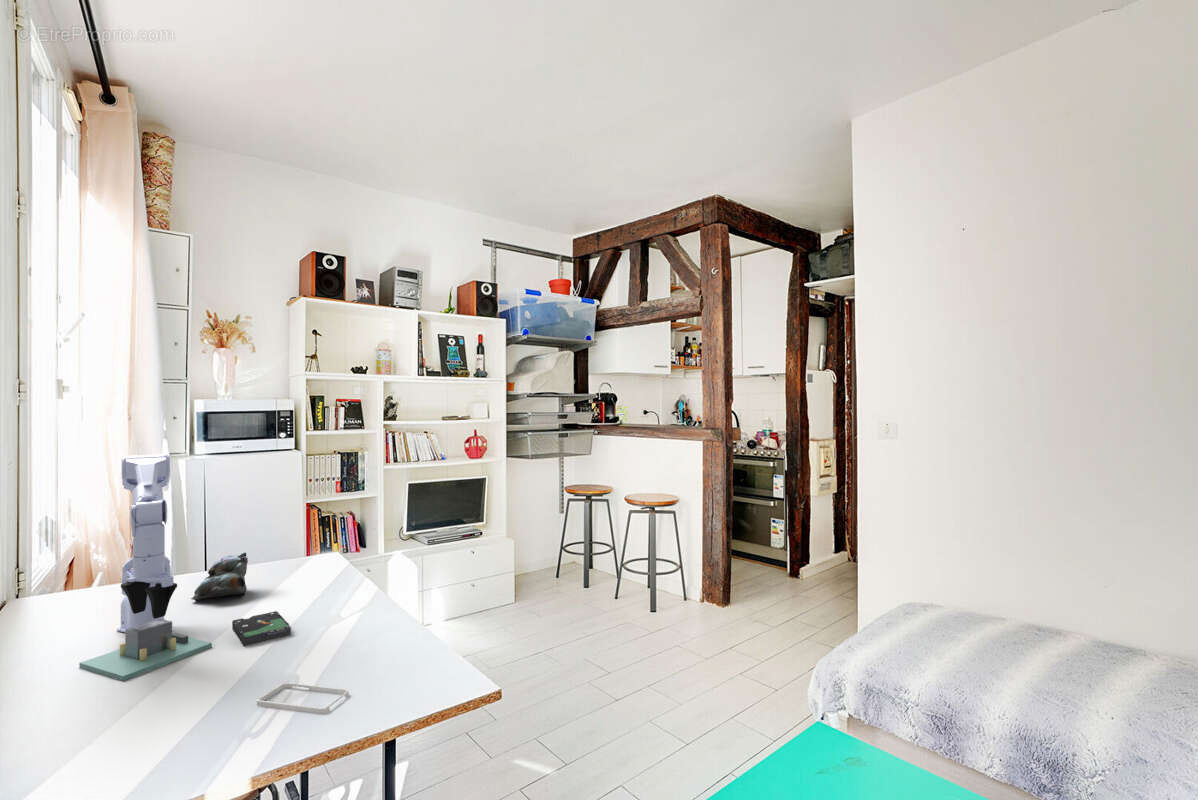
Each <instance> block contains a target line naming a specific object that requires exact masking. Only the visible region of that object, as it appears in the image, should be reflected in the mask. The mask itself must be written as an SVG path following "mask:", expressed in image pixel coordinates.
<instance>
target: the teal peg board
mask: <svg viewBox="0 0 1198 800" xmlns="http://www.w3.org/2000/svg"><path fill="white" fill-rule="evenodd" d="M212 647H213V643H212V642H210V641H205V640H201V639H197V638H194V637H189V635H186V634H182V633H178V632H172V638H171V639H169V649H167V650H164V651H161V652H159V653H156V654H153V655H150V656H148V657H147V648H142V649H140V659H139V660H136V659H132V658H128V657H125V642H122V643H119V649H117V650H114V651H110V652H107V653H105V654H102V655H99V656H96V657H93V658H90V659H87V660H84V661H82V662H79V664H78V665H79V668H80V669H83V670H85V671H86V670H87V671H88V672H89V671H90V672H93V673H96V674H99V675H103V676H104V677H105V676H106V677H109V678H112V679H115V680H119V681H122V682H124V681H127V680H129V679H133V678H135V677H137V676H141V675H143V674H146V673H147V672H150V671H153V670H156V669H158V668H161V667H163V666H166V665H168V664H171V663H174V662H176V661H178V660H182V659H185V658H187V657H189V656H192V655H194V654H197V653H200V652H202V651H205V650H208V649H210V648H212Z"/></svg>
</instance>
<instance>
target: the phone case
mask: <svg viewBox="0 0 1198 800" xmlns="http://www.w3.org/2000/svg"><path fill="white" fill-rule="evenodd" d="M293 687H297V688H303V689H304V688H305V689H308V690H309V691H311V692H321V693H329V694H330V693H331V694H336V695H337V694H339V695H340V696H338V697H337V698H336V699H334V701H332V702H331V703H330V704H328V705H327V706H325V707H318V706H309V705H302V704H293V703H285V702H276V701H270V700H269V701H268V700H267V699H269V698H270V697H272V696H274V695H276V693H278V692H280V691H281V690H283V689H292V688H293ZM349 692H350V691H349V690H348V689H343V688H337V687H336V688H335V687H334V688H333V687H326V686H324V687H323V686H318V685H317V686H316V685H309V684H308V685H307V684H298V683H290V682H289V683H288V682H285V683H281V684H279V685H277V687H275V688H273V689H272V690H270V691H268V692H267V693H265V694H264V695H261V696H260V697H259V698H258V699H256V706H258V707H263V708H264V707H265V708H273V709H274V708H275V709H282V710H290V711H298V712H307V713H314V714H315V713H316V714H326V713H327V712H329V711H330V707H332V706H333V705H334V704H336V703H337V702H338V701H340V700H341V699H342V698H347V697H349V694H350V693H349Z"/></svg>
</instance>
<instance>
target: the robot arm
mask: <svg viewBox="0 0 1198 800" xmlns="http://www.w3.org/2000/svg"><path fill="white" fill-rule="evenodd" d="M170 476H171V457H170V454H168V453H163V454H144V455H128V456H127V455H124V456H123V457H121V480H122V481H121V482H122V486H123V489H124V490H127V491H131V492H132V495H131V496H132V498H131V499H132V504H131V505H130V508H129V509H130V510H129V511H130V520H129V521H130V522H129V523H130V527H131V537H132V557H130V559H128V560H127V561H125V562H124V563H123V565H122V572H121V584H120V589H121V594H122V595H123V596H124V597H123V599H122V600H121V603H120V626H119V627H117V628H116V631H117V632H121V633H125V629H129V628H132V627H135V626H138V625H141V624H145V623H148V622H151V621H154V620H157V619H163V620H165V616H166V615H167V611H168V607H169V603H170V600H171V598H172V596H173V594H174V592H175V591H176V589H177V587H178V583H176V582H174V576H173V575H172V572H171V570H172V569H171V565H170V564H171V563H170V562H171V561H170V559H169V557H167V556H165V554H166V553H165V549H166V547H165V545H166V541H165V540H166V539H165V537H166V536H165V533H166V531H165V525H167V522H168V504H167V500H166V498H165V497H164V490H163V489H164V488H165V487H167V486H168V483H169V482H170ZM163 523H164V524H163Z"/></svg>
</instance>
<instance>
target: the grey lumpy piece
mask: <svg viewBox="0 0 1198 800" xmlns="http://www.w3.org/2000/svg"><path fill="white" fill-rule="evenodd" d="M248 561H249V559H248V557H247V552H243V553H241V554H239V555H235V554H233V555H232V554H230V555H227V556H223V557H221V559H219V560H217V561H216V562H214V563H213V564H212V565H211V566H210V568H209V569H208V571H207V573H208V576H207V577H205V578H203V579H204V580H202V581H201V582H200V584H199V585H198V586H197V587H196V588H195V591H194V592H193V593H194V595H193V596H192V597H191V598H190V600H193V601H195V602H197V601H199V600H204V599H207V598H213V597H214V598H215V597H227V596H245V594H246V592H247V585H246V579H245V576H246V575H247V570H248Z"/></svg>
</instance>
